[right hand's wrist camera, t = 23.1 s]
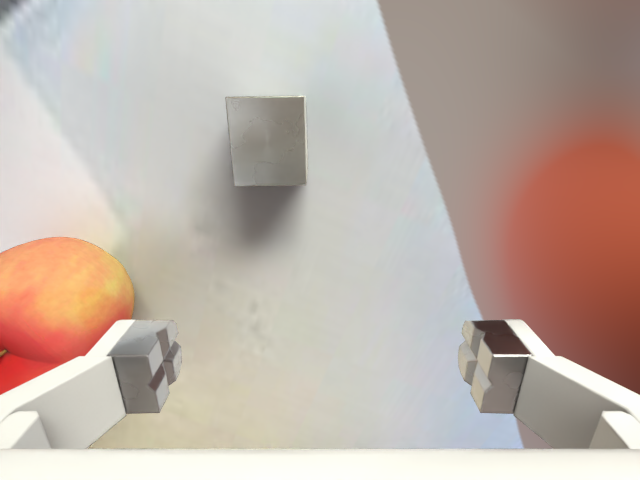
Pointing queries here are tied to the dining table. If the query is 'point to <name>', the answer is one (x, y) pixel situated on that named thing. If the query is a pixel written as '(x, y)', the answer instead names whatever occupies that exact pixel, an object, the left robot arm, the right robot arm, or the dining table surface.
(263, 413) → the dining table surface
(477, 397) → the right robot arm
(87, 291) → the apple
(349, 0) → the dining table surface
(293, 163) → the block
